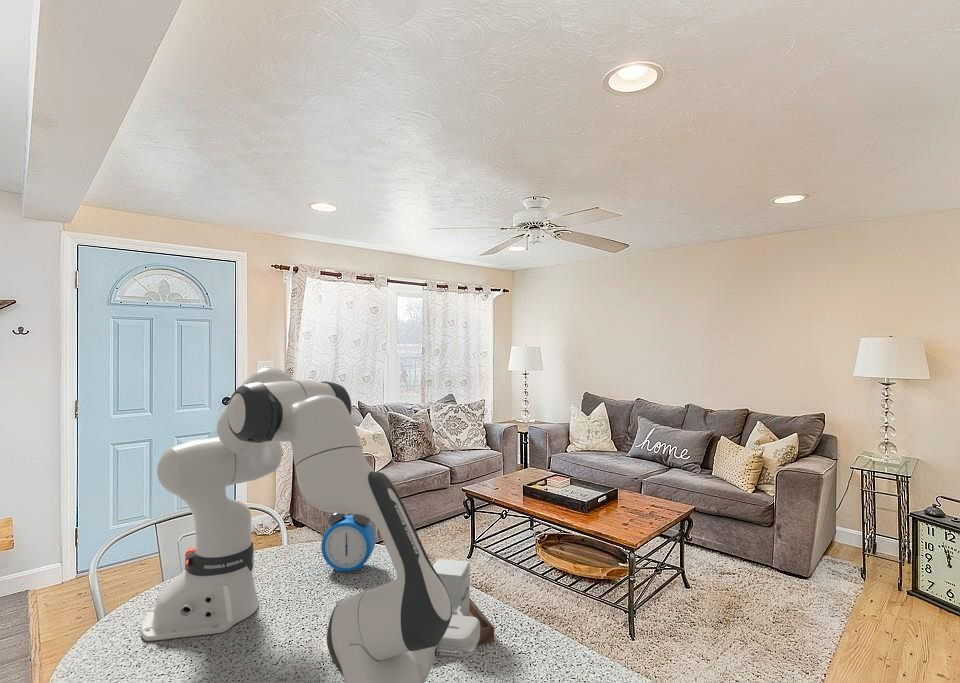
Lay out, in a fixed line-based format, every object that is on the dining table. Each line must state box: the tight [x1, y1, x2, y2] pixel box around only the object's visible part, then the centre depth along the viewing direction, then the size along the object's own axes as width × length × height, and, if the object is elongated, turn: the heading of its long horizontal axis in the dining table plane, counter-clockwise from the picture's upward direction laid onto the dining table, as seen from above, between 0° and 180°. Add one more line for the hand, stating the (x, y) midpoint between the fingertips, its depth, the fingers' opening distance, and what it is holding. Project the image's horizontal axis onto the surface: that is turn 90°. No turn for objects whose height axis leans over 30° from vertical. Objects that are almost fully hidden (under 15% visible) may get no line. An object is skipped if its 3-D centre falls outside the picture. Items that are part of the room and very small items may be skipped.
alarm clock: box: [320, 513, 377, 573], centre depth 135 cm, size 13×6×15 cm, turn 87°
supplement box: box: [432, 558, 471, 616], centre depth 105 cm, size 7×7×13 cm
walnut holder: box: [469, 598, 495, 647], centre depth 105 cm, size 15×15×3 cm
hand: (433, 607), depth 96 cm, fingers open, 8 cm apart
